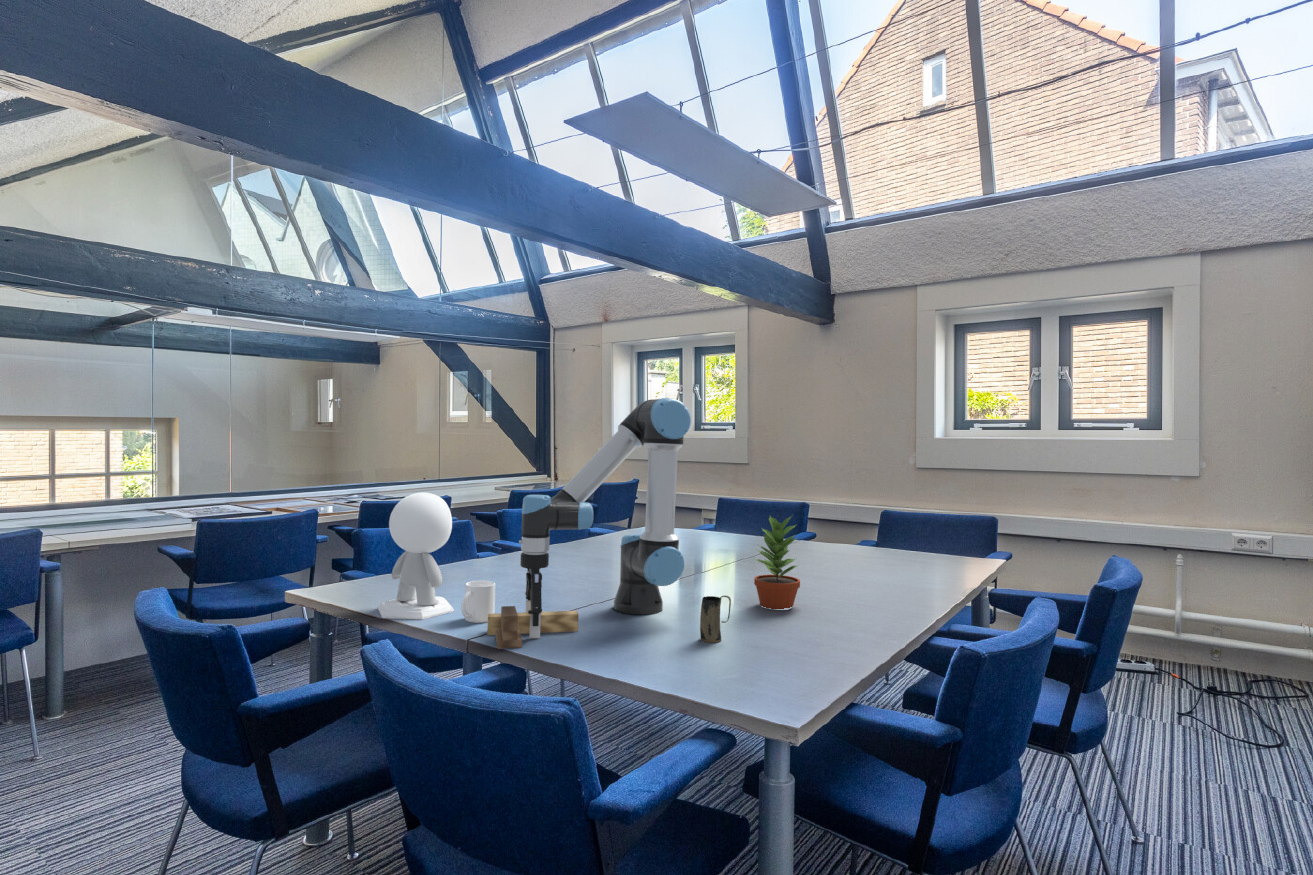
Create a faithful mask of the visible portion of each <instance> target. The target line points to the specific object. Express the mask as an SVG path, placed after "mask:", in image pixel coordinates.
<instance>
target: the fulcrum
mask: <svg viewBox="0 0 1313 875" xmlns="http://www.w3.org/2000/svg"><path fill="white" fill-rule="evenodd" d="M500 610H501V612H500V613H501V629H498V630H496V635H495V642H496V647H497V649H498V650H500V649H501V650H502V649H519V648H523V638H522V634H521V633H520V629H517V623H518V615H517V613H518V612H517V609H516V606H515V605H509V606H508V605H505V606H501V608H500Z"/></svg>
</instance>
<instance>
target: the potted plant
mask: <svg viewBox="0 0 1313 875" xmlns="http://www.w3.org/2000/svg"><path fill="white" fill-rule="evenodd" d="M792 517H793V515H791V516H789V517H787V518H786V519H784V520H783V522H780V521H778V520H777V518H774V517H772V516H771V515H769V518H768V521H769V524H770V526H771V531H770V530H768V529H764V528H761V530H762V532H763V540H764V542H765V545H766V546H767V548H768V549H767V548H766V547H764V546H761V545H758V544H757V546H758V547H760V548H761V549H762V550H758V549H755V550H756V551H757V552H758V553H759V554H760V555H762V556H764V558H765V559H764V560H763V559H755V558H754V560H755V561H757V562H759V563H762V564H764V565H765V567H766V568H767V569H768V571H769V572H770V573H771V574H761V575H756V576H754V580H753V585H754V586H755V587H756V591H757V596H758V601H759V605H761V606H763V607H766V608H771V609H784V608H790V607H792V606H793V607H794V604H795V600H796V597H797V594H798V591H799V590H798V589H800V587H801V579H799V578H797V577H794V576H791V575H790V576H789V575H786V574H787V573H788V572H790V571H792V570H794V569H795V568H796V567H798V566H799V564H797V565H791V566H789V567H788V568H787V569H784V570H783V568H784V567H786V566H788V565H789V564H790V563H792V562H794V561H796V558H785V559H784V560H783V558H784V556H785V555H787V553H789V552H790V550H789V549H788V546H789V545H790V544H792V543H794V541H796V540H797V539H798V537H797V538H794V537H795V534H793V535H791V536H789V537H787V538H785V536H786V535H787V534H788V533H790V532H791V531H792V530H793V529H795V527H796V526H797V525H798V524H795V525H789V526H787V524H788V523H789V522H790V520H791V518H792ZM766 559H767V560H766ZM761 606H760V607H761Z"/></svg>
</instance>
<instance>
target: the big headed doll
mask: <svg viewBox="0 0 1313 875" xmlns="http://www.w3.org/2000/svg"><path fill="white" fill-rule="evenodd" d="M452 518H453V517H452V513H451V509H450V507H449V505H448V504H447V502H446V500H445V499H443V498H442V497H441V496H439V495H437V494H435V493H430V492H415V493H412V494H409V495H407V496H405V497H404V498H402V499H401V500H399V502H398V503H396V504H395V506H394V507H393V509H392V510H391V513H390V516H389V520H388V527H389V533H390V535H391V538H392V540H393V542H394V543H396V545H397V546H398V547H399V548H401V549H402V550H404V552H402V554H401V555H400V556H399V557H398V559H397V560H396V562H395V563H394V565H393V567H392V571H391V577H392V580H398V579H399V583H398V588H397V595H396V596H397V597H396V598H393V599H390V600H386V601H384V602H383V601H382V602H380V604H379V605H378V606H377V609H378V612H379V614H380V616H381V618H382V619H390V620H393V619H395V620H396V619H397V620H417V621H418V620H421V621H422V620H423V621H424V620H427V619H431V618H434V617H438V616H442V615H447V614H450V613H453V612H454V611H455V609H454V607H453V606H452V605H451V604H450V603H449V601H448V600H446V598H445V597H443V596H442V597H441V596H439V595H438V596H436V590H435V588H440V587H442V586H443V585H442V584H443V576H442V572H441V570H440V567H439V565H438V564H437V561H436V560H435V559H434V557H433V556H432V554H430V553H432V552H433V553H434V552H435V551H437V550H439V549H441V548H442V547H444V545H446V544H447V542H448V541H449V539H450V536H451V533H452V530H453V519H452Z"/></svg>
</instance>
